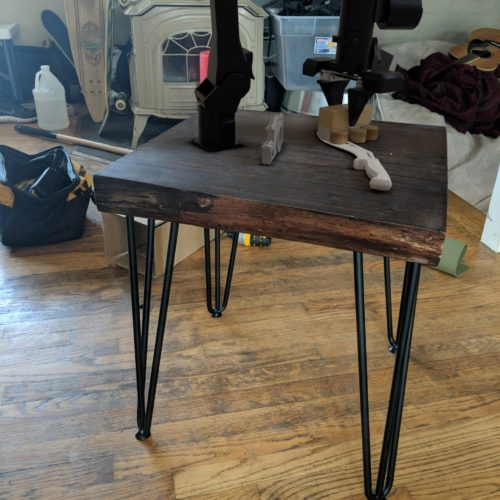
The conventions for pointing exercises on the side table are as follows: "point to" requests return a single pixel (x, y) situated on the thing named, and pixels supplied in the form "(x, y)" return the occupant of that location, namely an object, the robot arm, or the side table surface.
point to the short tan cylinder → (357, 135)
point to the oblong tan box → (340, 119)
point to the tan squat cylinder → (339, 136)
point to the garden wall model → (273, 138)
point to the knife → (366, 165)
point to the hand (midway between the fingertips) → (344, 123)
